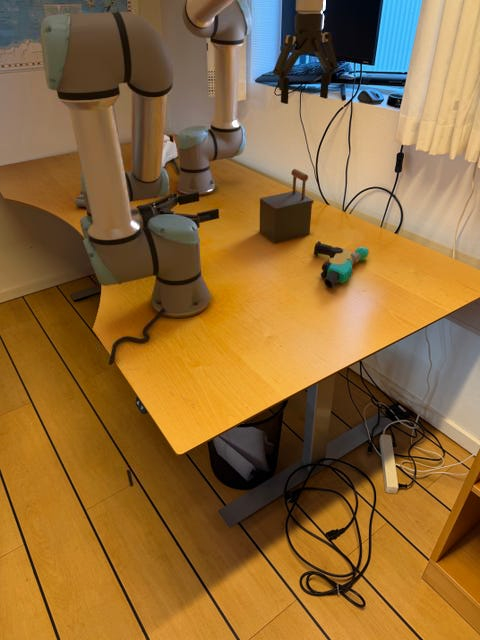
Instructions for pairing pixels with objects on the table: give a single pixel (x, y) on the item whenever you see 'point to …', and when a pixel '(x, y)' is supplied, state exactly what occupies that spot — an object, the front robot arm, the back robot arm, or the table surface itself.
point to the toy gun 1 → (80, 201)
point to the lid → (289, 196)
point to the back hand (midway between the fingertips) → (304, 100)
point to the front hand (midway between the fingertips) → (208, 204)
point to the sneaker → (168, 149)
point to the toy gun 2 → (338, 262)
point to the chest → (285, 222)
